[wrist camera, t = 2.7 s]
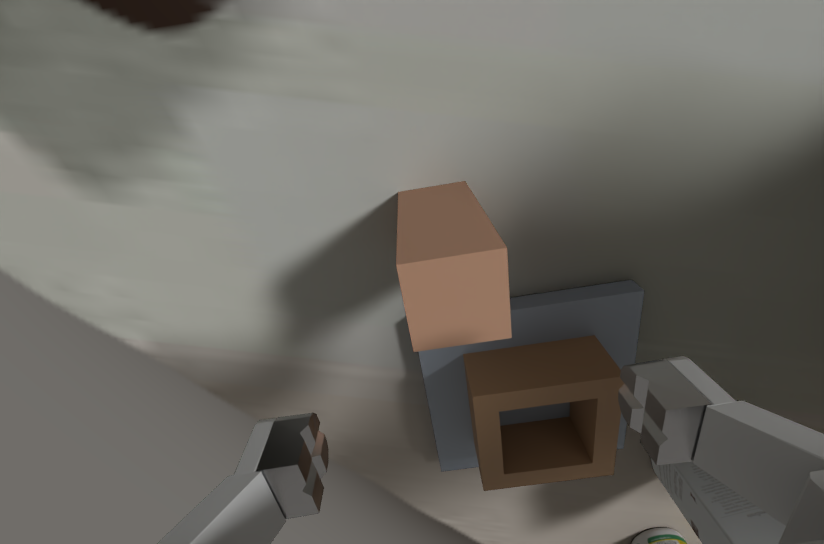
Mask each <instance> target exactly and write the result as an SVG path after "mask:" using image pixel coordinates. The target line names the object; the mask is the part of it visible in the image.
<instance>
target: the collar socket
mask: <svg viewBox="0 0 824 544" xmlns="http://www.w3.org/2000/svg"><path fill="white" fill-rule="evenodd" d="M643 298H644V290H643V289H642V288H641V287H640V286H639V285H637V284H636V283H635V282H634V281H633V280H627V281H620V282H613V283H607V284H600V285H593V286H587V287H580V288H573V289H566V290H560V291H553V292H546V293H540V294H533V295H526V296H520V297H513V298H510V314H511V333H512V338H508V339H501V340H494V341H487V342H480V343H473V344H467V345H460V346H453V347H446V348H439V349H432V350H425V351H418V352H419V358H420V363H421V368H422V373H423V378H424V383H425V389H426V394H427V399H428V404H429V409H430V415H431V420H432V425H433V430H434V435H435V440H436V446H437V451H438V456H439V461H440V466H441V472H442V471H450V470H458V469H466V468H474V467H479V469H480V474H481V479H482V484H483V489H484V491H487V490H495V489H503V488H511V487H519V486H527V485H535V484H543V483H551V482H559V481H567V480H575V479H583V478H591V477H599V476H607V475H614V467H615V458H616V450H617V449H622V448H624V441H625V434H626V426H627V422H626V421H625V419H624V417H623V415H622V413H621V411H620V406H619V402H618V391H619V389H620V388H621V387H622V386H623V385H624V384H625V383H624V382H623V381H622V380H621V378H620V372H621V369H622V367H623V366H624V365H630V364H635V358H636V351H637V343H638V336H639V328H640V321H641V313H642V306H643Z"/></svg>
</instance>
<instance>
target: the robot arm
mask: <svg viewBox="0 0 824 544" xmlns="http://www.w3.org/2000/svg"><path fill="white" fill-rule="evenodd" d="M620 378H621V380H622V381H623V382H624V383H625V384H624V385H623V386H622V387H621V388H620V389H619V391H618V402H619V406H620V411H621V413H622V415H623V417H624V419H625V421H626V422H627V424H628V425H629V427H630V428H632V429H634V430H636V431H637V432H639V433H641V439H640V443H641V444H642V446H643V447H644V448H645V450H646V451H647V453H648V454H649V456H650V457H651V458H652V460H653V461H654V463H655V464H656V465H664V464H673V463H682V462H691V461H693V464H695V465H696V466H698V467H699V468H701V469H702V470H704V471H705V472H707V473H708V474H710V475H711V476H713V477H714V478H716V479H717V480H719V481H720V482H721V483H723V484H724V485H726V486H727V487H729V488H730V489H732V490H733V491H735V492H736V493H738V494H739V495H741V496H742V497H744V498H745V499H747V500H748V501H750V502H751V503H753V504H754V505H756V506H757V507H759V508H760V509H761V510H763V511H764V512H766V513H767V514H769V515H770V516H772V517H773V518H775V519H776V520H778V521H779V522H781V523H782V524H784V525H785V526H786V527H785V530H784V532H783V534H782V536H781V539H780V541H779V544H824V434H823V433H820V432H818V431H815V430H813V429H811V428H808V427H806V426H803V425H801V424H799V423H796V422H794V421H791V420H789V419H786V418H784V417H782V416H779V415H777V414H774V413H772V412H769V411H767V410H765V409H762V408H760V407H757V406H755V405H752V404H750V403H748V402H745V401H735V400H734V399H733V398H732V397H731V396H730V395H729V394H728V393H727V392H726V391H724V390H723V389H722V388H721V387H720V386H719V385H718V384H717V383H716V382H715V381H713V380H712V379H711V378H710V377H709V376H708V375H707V374H706V373H705V372H704V371H702V370H701V369H700V368H699V367H698V366H697V365H696V364H695V363H694V362H693V361H692V360H690V359H689V358H687V357H685V356H679V357H672V358H666V359H662V360H655V361H648V362H642V363H636V364H630V365H624V366H623V367H622V369H621V372H620ZM319 425H320V421H319V419H318V417H317V414H315V413H308V414H300V415H293V416H285V417H278V418H272V419H264V420H259V421H258V422H257V423H256V424H255V426H254V428H253V430H252V433H251V436H250V438H249V440H248V442H247V445H246V447H245V450H244V452H243V454H242V457H241V459H240V461H239V464H238V466H237V468H236V471H235V474H234V475H232V476H228V477H227V478H226V479H224V480H223V481H222V482H221V483H220V484H219V485H218V486H217V487H216V488H215V489H214V490H213V491H212V492H211V493H210V494H209V495H208V496H207V497H206V498H205V499H203V501H201V502H200V504H198V505H197V506H196V507H195V508H194V509H193V510H192V511H191V512H190V513H189V514H188V515H187V516H186V517H185V518H184V519H182V520H181V521H180V522H179V523H178V524H177V525H176V526H175V527H174V528H173V529H172V530H171V531H170V532H169V533H168V534H167V535H166V536H165V537H164V538H163V539H162V540H160V541H159V542H158V543H157V544H271V542H272V541H273V539H274V538H275V536H276V535H277V534H278V532H279V531H280V529H281V528H282V526H283V525H284V524H285V522H286V520H285V519H289V518H295V517H301V516H307V515H312V514H318V513H319V511H320V505H321V500H322V495H323V489H324V487H323V485H322V482H321V478H322V477H323V475H324V474H325V473H326V472H327V466H328V445H327V440H326V437H325V435H324V434H323V433H321V432H320V431H318V430H319Z"/></svg>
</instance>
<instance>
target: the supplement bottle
mask: <svg viewBox="0 0 824 544" xmlns="http://www.w3.org/2000/svg"><path fill="white" fill-rule="evenodd" d="M632 544H687V543H686V541H685V540H684V538H683V537H682V535H681V534H680V533H679V532H677V531H675V530H673V529H670V528H653V529H650V530H647V531H644V532H642V533H640V534H639V535H638V536H636V537H635V538H634V540H633V541H632Z"/></svg>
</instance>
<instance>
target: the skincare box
mask: <svg viewBox="0 0 824 544" xmlns="http://www.w3.org/2000/svg"><path fill="white" fill-rule="evenodd" d="M651 461H652V467H653V470H654V472H655V474H656V475H657V477H658V478H659V480H660V481H661V483H662V484H663V486H664V487H665V489H666V490H667V492H668V493H669V494H670V496H671V498H672V499H673V500H674V502H675V503H676V505H677V506H678V508H679V509H680V511H681V512H682V514H683V515H684V517H685V518H686V520H687V521H688V523H689V524H690V526H691V527H692V529H693V530H694V532H695V533H696V535H697V536H698V538H699V539H700V541H701V542H702V543H703V544H779V541H780V539H781V536H782V534H783V532H784V530H785V527H786V526H785V525H784V524H782V523H781V522H779V521H778V520H776V519H775V518H773V517H772V516H770V515H769V514H767V513H766V512H764V511H763V510H761V509H760V508H759V507H757V506H756V505H754V504H753V503H751V502H750V501H748V500H747V499H745V498H744V497H742V496H741V495H739V494H738V493H736V492H735V491H733V490H732V489H730V488H729V487H727V486H726V485H724V484H723V483H721V482H720V481H719V480H717V479H716V478H714V477H713V476H711V475H710V474H708V473H707V472H705V471H704V470H702V469H701V468H699V467H698V466H696V465H695V464H693V461H691V462H682V463H673V464H664V465H656V464H655V463H654V461H653V460H652V458H651Z"/></svg>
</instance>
